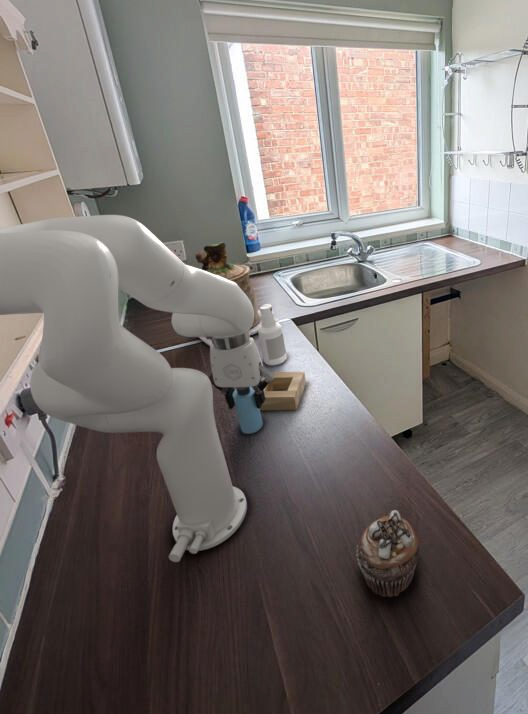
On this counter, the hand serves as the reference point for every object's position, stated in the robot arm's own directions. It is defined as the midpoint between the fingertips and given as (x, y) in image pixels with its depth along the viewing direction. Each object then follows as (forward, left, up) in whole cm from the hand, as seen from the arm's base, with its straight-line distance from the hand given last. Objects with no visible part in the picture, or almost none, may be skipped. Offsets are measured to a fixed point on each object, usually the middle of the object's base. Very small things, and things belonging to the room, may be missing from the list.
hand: (246, 404), depth 93 cm
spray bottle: (+29, +3, -7) cm, 30 cm away
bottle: (0, 0, -6) cm, 6 cm away
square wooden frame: (+11, -4, -6) cm, 13 cm away
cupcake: (-33, -34, -7) cm, 48 cm away
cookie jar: (+51, +25, -7) cm, 57 cm away
